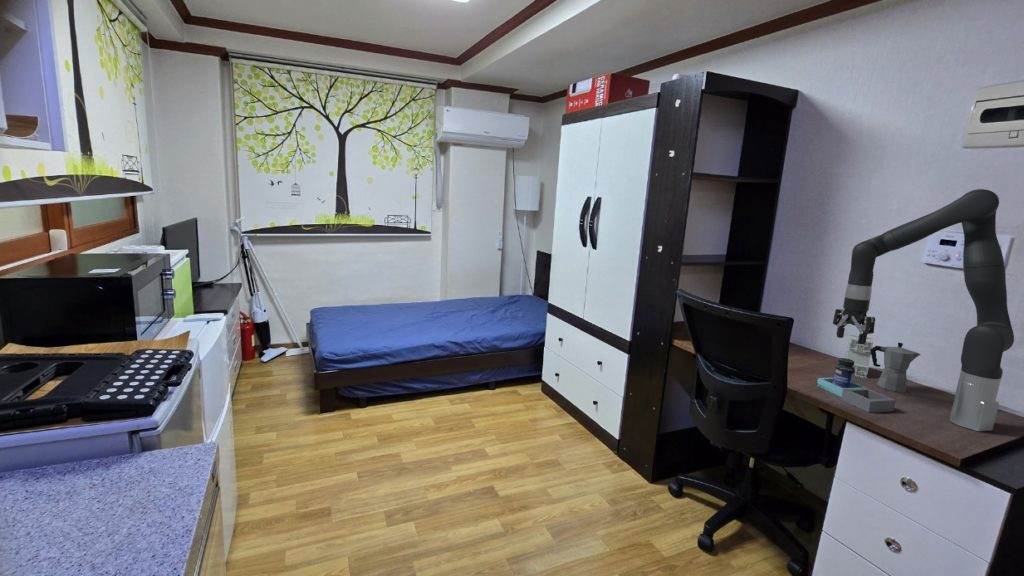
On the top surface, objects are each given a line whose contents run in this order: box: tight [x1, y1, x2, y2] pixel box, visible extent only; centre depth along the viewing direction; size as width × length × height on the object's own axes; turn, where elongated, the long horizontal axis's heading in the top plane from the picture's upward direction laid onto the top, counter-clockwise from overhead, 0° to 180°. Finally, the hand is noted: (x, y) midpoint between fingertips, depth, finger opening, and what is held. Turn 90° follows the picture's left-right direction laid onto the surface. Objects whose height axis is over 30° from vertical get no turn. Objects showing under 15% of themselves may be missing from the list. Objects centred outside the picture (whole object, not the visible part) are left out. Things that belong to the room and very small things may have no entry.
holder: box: [840, 387, 897, 414], centre depth 165 cm, size 10×10×4 cm
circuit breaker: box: [845, 334, 874, 379], centre depth 200 cm, size 8×14×15 cm, turn 146°
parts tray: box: [816, 377, 867, 398], centre depth 178 cm, size 11×11×3 cm
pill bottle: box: [832, 357, 855, 388], centre depth 177 cm, size 6×6×11 cm
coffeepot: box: [870, 342, 921, 393], centre depth 183 cm, size 15×9×18 cm, turn 67°
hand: (850, 340), depth 174 cm, fingers open, 8 cm apart
